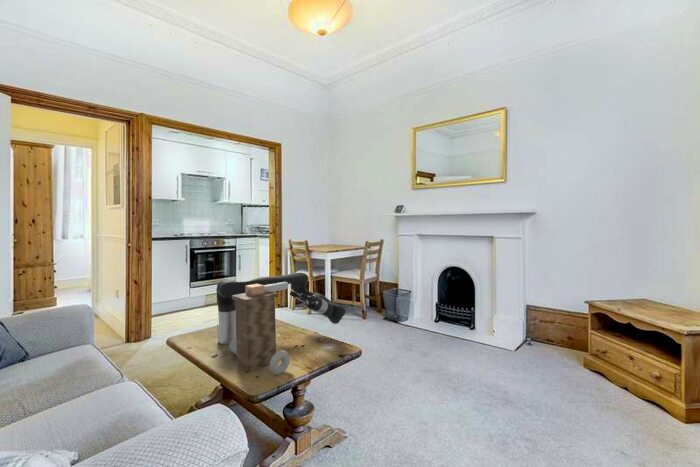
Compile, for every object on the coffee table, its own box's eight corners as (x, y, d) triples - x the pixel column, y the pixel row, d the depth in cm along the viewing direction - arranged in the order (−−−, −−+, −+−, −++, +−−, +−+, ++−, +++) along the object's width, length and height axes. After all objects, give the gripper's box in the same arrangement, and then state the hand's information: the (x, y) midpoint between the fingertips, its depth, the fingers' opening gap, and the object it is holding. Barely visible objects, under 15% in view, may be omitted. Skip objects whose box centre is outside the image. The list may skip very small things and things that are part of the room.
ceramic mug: (236, 359, 155) (236, 343, 154) (229, 354, 161) (229, 338, 160) (257, 353, 162) (257, 337, 162) (249, 348, 168) (249, 333, 168)
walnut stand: (265, 354, 160) (263, 289, 158) (279, 362, 151) (277, 293, 150) (233, 365, 148) (231, 295, 146) (247, 374, 140) (245, 299, 138)
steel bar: (282, 287, 162) (282, 279, 162) (290, 289, 158) (290, 280, 158) (245, 294, 148) (245, 285, 148) (252, 296, 144) (252, 287, 144)
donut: (273, 379, 135) (272, 355, 135) (268, 377, 137) (267, 353, 137) (291, 370, 143) (291, 347, 143) (286, 368, 145) (285, 346, 145)
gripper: (323, 314, 168) (301, 303, 158) (306, 309, 178) (284, 298, 168) (329, 300, 171) (307, 288, 160) (311, 295, 181) (290, 285, 170)
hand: (295, 294), depth 164 cm, fingers open, 8 cm apart
